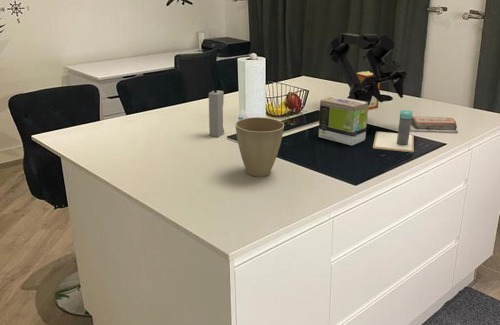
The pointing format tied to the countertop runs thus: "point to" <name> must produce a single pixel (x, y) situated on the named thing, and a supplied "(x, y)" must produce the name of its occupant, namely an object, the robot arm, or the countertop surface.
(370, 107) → the baking soda box
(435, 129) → the packaged product
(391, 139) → the notepad
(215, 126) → the vintage mobile phone
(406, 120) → the gray bottle teal cap
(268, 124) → the plant pot
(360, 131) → the tea box
